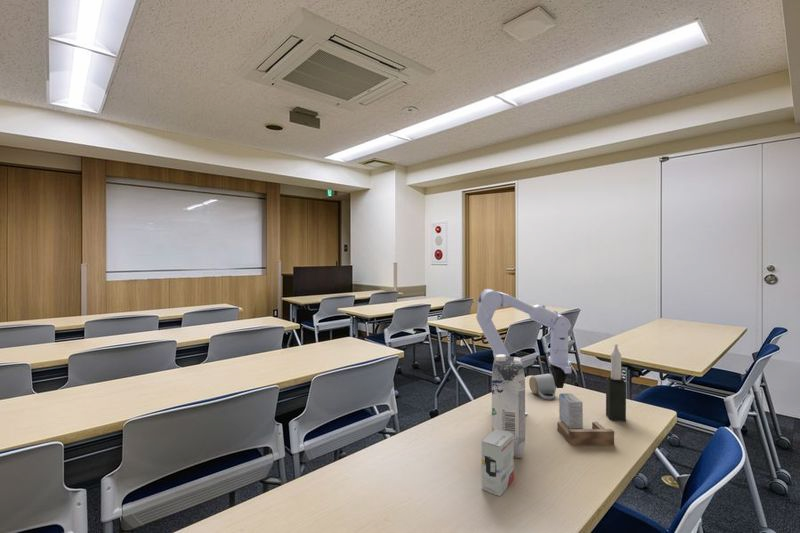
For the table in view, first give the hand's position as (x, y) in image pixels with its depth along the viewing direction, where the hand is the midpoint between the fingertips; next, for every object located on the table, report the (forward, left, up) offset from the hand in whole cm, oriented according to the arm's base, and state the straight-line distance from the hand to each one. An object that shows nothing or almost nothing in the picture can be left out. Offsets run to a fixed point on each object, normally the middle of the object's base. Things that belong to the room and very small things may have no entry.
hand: (559, 387), depth 131 cm
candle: (+17, -5, -9) cm, 20 cm away
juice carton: (-25, -25, -9) cm, 37 cm away
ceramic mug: (+1, +16, -9) cm, 19 cm away
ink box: (-32, -41, -9) cm, 53 cm away
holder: (0, -18, -9) cm, 20 cm away
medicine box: (0, -9, -9) cm, 13 cm away
